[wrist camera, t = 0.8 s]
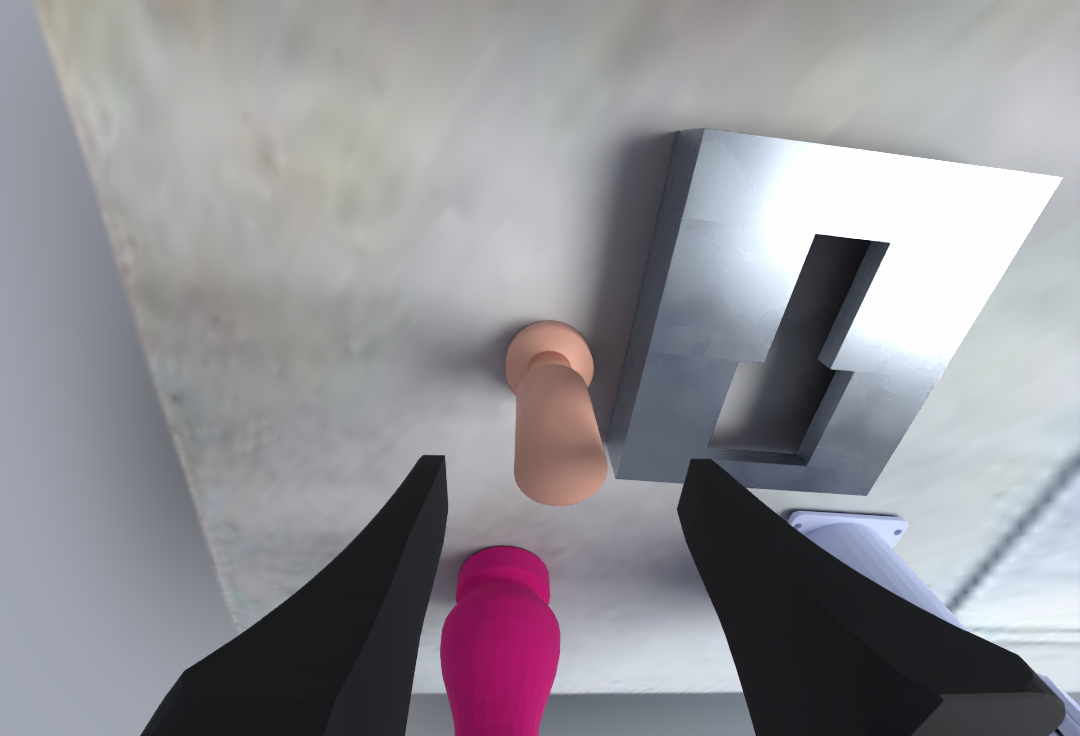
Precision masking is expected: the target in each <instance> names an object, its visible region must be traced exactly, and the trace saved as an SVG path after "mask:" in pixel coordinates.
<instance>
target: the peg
mask: <svg viewBox="0 0 1080 736" xmlns="http://www.w3.org/2000/svg"><path fill="white" fill-rule="evenodd" d="M593 372H594V364H593V359H592V356H591V352H590V349H589V346H588V344H587V342H586V340H585V338H584V337H583V336H582V334H581V333H580V332H579V331H577V330H576V329H575V328H573V327H572V326H570V325H568V324H565V323H562V322H558V321H541V322H536V323H533V324H531V325H529V326H527V327H525V328H523V329H522V330H521V331H520V332H518V333H517V334H516V336H515V337H514V338H513V339H512V341H511V343H510V345H509V347H508V350H507V355H506V365H505V374H506V379H507V383H508V385H509V387H510V389H511V390H512V392H513V393H514V394H515V395H516V396H517V399H516V432H515V465H514V475H515V480H516V483H517V485H518V487H519V488H520V489H521V491H522V492H523V493H524V494H525V495H527V496H528V497H529V498H531V499H532V500H534V501H536V502H539V503H542V504H546V505H551V506H566V505H572V504H575V503H579V502H581V501H583V500H585V499H587V498H589V497H590V496H592V495H593V494H594V493H595V492H597V491H598V489H599V488H600V487H601V486H602V484H603V482H604V480H605V478H606V475H607V461H606V457H605V453H604V449H603V445H602V441H601V438H600V434H599V430H598V426H597V422H596V419H595V415H594V411H593V407H592V403H591V399H590V396H589V392H588V387H589V385H590V383H591V380H592V377H593Z"/></svg>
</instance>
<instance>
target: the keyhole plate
mask: <svg viewBox="0 0 1080 736" xmlns="http://www.w3.org/2000/svg"><path fill="white" fill-rule="evenodd" d="M1061 179H1062V177H1055V176H1047V175H1040V174H1033V173H1026V172H1018V171H1011V170H1004V169H997V168H989V167H982V166H975V165H968V164H961V163H953V162H946V161H939V160H932V159H924V158H917V157H910V156H903V155H895V154H888V153H881V152H874V151H867V150H859V149H852V148H845V147H838V146H830V145H823V144H816V143H809V142H801V141H794V140H787V139H780V138H773V137H765V136H758V135H751V134H744V133H736V132H729V131H722V130H715V129H707V128H702V129H692V130H682V131H678V132H677V136H676V141H675V145H674V149H673V154H672V158H671V163H670V167H669V171H668V176H667V180H666V184H665V189H664V193H663V197H662V202H661V206H660V210H659V215H658V219H657V223H656V228H655V232H654V237H653V241H652V245H651V250H650V254H649V258H648V263H647V267H646V271H645V276H644V280H643V284H642V289H641V293H640V297H639V302H638V306H637V311H636V315H635V319H634V324H633V328H632V332H631V337H630V341H629V345H628V350H627V354H626V358H625V363H624V367H623V371H622V376H621V380H620V385H619V389H618V393H617V398H616V402H615V406H614V411H613V415H612V419H611V424H610V428H609V432H608V437H607V441H606V445H607V449H608V452H609V456H610V460H611V463H612V467H613V471H614V474H615V478H616V479H625V480H639V481H654V482H669V483H684V482H685V478H686V475H687V471H688V467H689V464H690V460H691V459H712V460H713V461H714V462H716V463H717V464H718V465H719V466H721V467H722V468H723V469H724V470H725V471H726V472H728V473H729V474H730V475H731V476H732V477H733V478H735V479H736V480H737V481H738V482H739V483H740V484H742V485H743V486H744V487H745V488H758V489H773V490H788V491H803V492H818V493H832V494H847V495H862V496H867V495H868V493H869V491H870V490H871V488H872V487H873V485H874V483H875V482H876V480H877V478H878V477H879V475H880V474H881V472H882V470H883V469H884V467H885V465H886V464H887V462H888V461H889V459H890V457H891V456H892V454H893V452H894V451H895V449H896V448H897V446H898V444H899V443H900V441H901V439H902V438H903V436H904V435H905V433H906V431H907V430H908V428H909V426H910V425H911V423H912V422H913V420H914V418H915V417H916V415H917V413H918V412H919V410H920V409H921V407H922V405H923V404H924V402H925V400H926V399H927V397H928V396H929V394H930V392H931V391H932V389H933V387H934V386H935V384H936V382H937V381H938V379H939V378H940V376H941V374H942V373H943V371H944V369H945V368H946V366H947V365H948V363H949V361H950V360H951V358H952V356H953V355H954V353H955V352H956V350H957V348H958V347H959V345H960V343H961V342H962V340H963V339H964V337H965V335H966V334H967V332H968V330H969V329H970V327H971V326H972V324H973V322H974V321H975V319H976V317H977V316H978V314H979V313H980V311H981V309H982V308H983V306H984V304H985V303H986V301H987V300H988V298H989V296H990V295H991V293H992V291H993V290H994V288H995V287H996V285H997V283H998V282H999V280H1000V278H1001V277H1002V275H1003V274H1004V272H1005V270H1006V269H1007V267H1008V265H1009V264H1010V262H1011V261H1012V259H1013V257H1014V256H1015V254H1016V252H1017V251H1018V249H1019V248H1020V246H1021V244H1022V243H1023V241H1024V239H1025V238H1026V236H1027V235H1028V233H1029V231H1030V230H1031V228H1032V226H1033V225H1034V223H1035V222H1036V220H1037V218H1038V217H1039V215H1040V213H1041V212H1042V210H1043V209H1044V207H1045V205H1046V204H1047V202H1048V200H1049V199H1050V197H1051V196H1052V194H1053V192H1054V191H1055V189H1056V187H1057V186H1058V184H1059V183H1060V181H1061ZM815 234H823V235H831V236H840V237H848V238H856V239H865V240H872V241H871V243H870V245H869V247H868V250H867V252H866V254H865V256H864V258H863V261H862V263H861V265H860V267H859V269H858V271H857V274H856V276H855V278H854V280H853V282H852V285H851V287H850V289H849V291H848V293H847V296H846V298H845V300H844V302H843V304H842V306H841V309H840V311H839V313H838V315H837V317H836V320H835V322H834V324H833V326H832V328H831V331H830V333H829V335H828V337H827V339H826V341H825V344H824V346H823V348H822V350H821V352H820V355H819V357H818V359H817V360H819V361H820V362H821V363H823V364H824V365H826V366H827V367H828V368H830V369H835V370H836V372H835V374H834V377H833V379H832V381H831V383H830V385H829V387H828V389H827V391H826V393H825V395H824V397H823V399H822V401H821V403H820V405H819V407H818V409H817V412H816V414H815V416H814V418H813V420H812V422H811V424H810V426H809V428H808V430H807V432H806V434H805V436H804V438H803V440H802V442H801V444H800V446H799V449H798V451H797V453H796V454H789V453H776V452H763V451H749V450H736V449H723V448H709V447H708V444H709V441H710V438H711V436H712V433H713V430H714V427H715V425H716V422H717V419H718V416H719V414H720V411H721V408H722V405H723V403H724V400H725V397H726V394H727V392H728V389H729V386H730V383H731V381H732V378H733V375H734V373H735V370H736V367H737V364H738V362H739V361H748V362H759V363H764V362H765V360H766V357H767V355H768V352H769V350H770V347H771V344H772V342H773V339H774V337H775V334H776V332H777V329H778V327H779V324H780V322H781V319H782V317H783V314H784V312H785V309H786V307H787V304H788V302H789V299H790V296H791V294H792V291H793V289H794V286H795V284H796V281H797V279H798V276H799V274H800V271H801V269H802V266H803V264H804V261H805V259H806V256H807V254H808V251H809V248H810V246H811V243H812V241H813V238H814V236H815Z"/></svg>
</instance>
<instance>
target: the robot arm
mask: <svg viewBox="0 0 1080 736" xmlns="http://www.w3.org/2000/svg"><path fill="white" fill-rule="evenodd" d="M677 511H678V515H679V519H680V522H681V526H682V530H683V533H684V536H685V540H686V543H687V545H688V548H689V550H690V552H691V555H692V557H693V559H694V562H695V564H696V567H697V569H698V571H699V573H700V576H701V578H702V580H703V583H704V585H705V587H706V590H707V592H708V594H709V597H710V599H711V601H712V603H713V606H714V608H715V610H716V613H717V615H718V617H719V620H720V622H721V625H722V628H723V630H724V633H725V636H726V639H727V642H728V645H729V648H730V651H731V654H732V657H733V660H734V663H735V666H736V669H737V672H738V676H739V679H740V682H741V686H742V689H743V692H744V696H745V698H746V702H747V706H748V708H749V712H750V716H751V720H752V723H753V727H754V730H755V734H756V736H1080V706H1079V705H1078V704H1077V703H1076V702H1075V701H1074V700H1073V699H1072V698H1071V697H1070V696H1068V695H1067V694H1066V693H1065V692H1064V691H1063V690H1062V689H1061V688H1060V687H1059V686H1058V685H1057V684H1056V683H1055V682H1054V681H1052V680H1051V679H1050V678H1049V677H1047V676H1044V675H1040V674H1037V673H1035V672H1034V671H1033V670H1032V669H1031V668H1030V667H1029V665H1028V664H1027V663H1026V662H1025V661H1024V660H1023V659H1022V658H1021V657H1020V656H1019V655H1017V654H1015V653H1013V652H1011V651H1008V650H1006V649H1004V648H1002V647H1000V646H998V645H996V644H993V643H991V642H989V641H987V640H985V639H983V638H981V637H978V636H976V635H974V634H972V633H970V632H968V631H967V629H966V628H965V627H964V626H963V625H962V624H961V623H960V622H959V621H958V620H957V619H956V617H955V616H954V615H953V614H952V613H951V612H950V611H949V610H948V609H947V608H946V607H945V605H944V604H943V603H942V602H941V601H940V600H939V599H938V598H937V597H936V596H935V594H934V593H933V592H932V591H931V590H930V589H929V588H928V587H927V586H926V585H925V584H924V582H923V581H922V580H921V579H920V578H919V577H918V576H917V575H916V574H915V573H914V572H913V570H912V569H911V568H910V567H909V566H908V565H907V564H906V563H905V562H904V561H903V560H902V558H901V557H900V556H899V555H898V554H897V553H896V552H895V551H894V550H893V548H894V546H895V545H896V543H897V542H898V541H899V539H900V538H901V536H902V535H903V533H904V532H905V531H906V529H907V528H908V526H909V523H908V522H907V521H906V520H905V519H904V518H902V517H889V516H873V515H857V514H842V513H826V512H810V511H796V512H794V513H792V515H791V516H790V518H789V520H788V522H786V521H785V520H784V519H782V518H781V517H780V516H779V515H777V514H776V513H775V512H774V511H772V510H771V509H770V508H769V507H767V506H766V505H765V504H764V503H763V502H761V501H760V500H759V499H758V498H757V497H756V496H754V495H753V494H752V493H751V492H750V491H749V490H747V489H746V488H745V487H744V486H743V485H742V484H740V483H739V482H738V481H737V480H736V479H735V478H733V477H732V476H731V475H730V474H729V473H728V472H726V471H725V470H724V469H723V468H722V467H721V466H719V465H718V464H717V463H716V462H714V461H713V460H712V459H691V460H690V464H689V467H688V471H687V475H686V478H685V482H684V485H683V489H682V493H681V496H680V500H679V504H678V507H677ZM447 514H448V496H447V480H446V465H445V455H423V456H422V457H421V458H419V460H418V461H417V463H416V464H415V466H414V467H413V469H412V470H411V472H410V473H409V474H408V476H407V477H406V479H405V480H404V481H403V483H402V484H401V485H400V487H399V488H398V489H397V490H396V492H395V493H394V494H393V495H392V497H391V498H390V499H389V500H388V502H387V503H386V504H385V505H384V507H383V508H382V509H381V510H380V511H379V513H378V514H377V515H376V516H375V517H374V518H373V519H372V520H371V521H370V523H369V524H368V525H367V526H366V527H365V528H364V529H363V530H362V531H361V533H360V534H359V535H358V536H357V537H356V538H355V539H354V540H353V541H352V542H351V543H350V544H349V545H348V546H347V547H346V548H345V549H344V550H343V551H342V552H341V553H340V554H339V555H338V556H337V557H336V558H335V559H334V560H333V561H332V562H330V563H329V564H328V565H327V566H326V567H325V568H324V569H323V570H322V571H320V572H319V573H318V574H317V575H316V576H315V577H314V578H312V579H311V580H310V581H309V582H308V583H307V584H306V585H304V586H303V587H302V588H301V589H300V590H298V591H297V592H296V593H295V594H294V595H292V596H291V597H290V598H289V599H287V600H286V601H285V602H283V603H282V604H281V605H279V606H278V607H277V608H275V609H274V610H273V611H271V612H270V613H269V614H267V615H266V616H265V617H263V618H262V619H261V620H260V621H258V622H257V623H256V624H254V625H253V626H251V627H250V628H249V629H247V630H246V631H244V632H243V633H242V634H240V635H239V636H237V637H236V638H234V639H233V640H231V641H230V642H228V643H227V644H225V645H224V646H222V647H221V648H219V649H217V650H216V651H214V652H213V653H212V654H210V655H208V656H207V657H205V658H204V659H202V660H201V661H199V662H198V663H196V664H195V665H193V666H191V667H190V668H188V669H186V670H185V671H184V672H183V674H182V675H181V676H180V678H179V679H178V680H177V682H176V683H175V685H174V686H173V687H172V688H171V690H170V691H169V692H168V694H167V695H166V696H165V698H164V699H163V701H162V702H161V704H160V705H159V707H158V709H157V710H156V712H155V713H154V715H153V716H152V718H151V719H150V721H149V723H148V724H147V726H146V727H145V729H144V731H143V732H142V734H141V735H140V736H405V731H406V724H407V717H408V711H409V704H410V697H411V691H412V685H413V678H414V672H415V666H416V660H417V653H418V647H419V641H420V636H421V631H422V627H423V622H424V618H425V614H426V610H427V606H428V602H429V598H430V594H431V590H432V586H433V582H434V578H435V575H436V571H437V567H438V563H439V559H440V555H441V551H442V547H443V543H444V536H445V529H446V522H447Z"/></svg>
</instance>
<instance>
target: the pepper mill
mask: <svg viewBox="0 0 1080 736" xmlns="http://www.w3.org/2000/svg"><path fill="white" fill-rule="evenodd" d="M549 600H550V587H549V574H548V570H547V568H546V566H545V564H544V563H543V562H542V561H541V560H540V558H539V557H538V556H536V555H534V554H532V553H531V552H529V551H527V550H524V549H520V548H517V547H506V546H501V547H492V548H488V549H484V550H482V551H480V552H478V553H476V554H474V555H472V556H471V557H470V558H469V559H468V560H467V561H466V562H465V563H464V564H463V565H462V567H461V569H460V572H459V577H458V583H457V590H456V602H457V605H456V606H455V607H454V608H453V609H452V611H451V612H450V613H449V615H448V616H447V618H446V620H445V623H444V625H443V629H442V635H441V647H440V658H441V668H442V676H443V680H444V683H445V687H446V691H447V695H448V699H449V703H450V706H451V711H452V716H453V720H454V728H455V736H538V732H539V725H540V721H541V718H542V714H543V711H544V708H545V705H546V702H547V699H548V697H549V694H550V691H551V688H552V685H553V682H554V679H555V676H556V672H557V666H558V660H559V655H560V629H559V624H558V621H557V619H556V617H555V615H554V613H553V611H552V610H551V609H550V607H549V606H548V604H549Z"/></svg>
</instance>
